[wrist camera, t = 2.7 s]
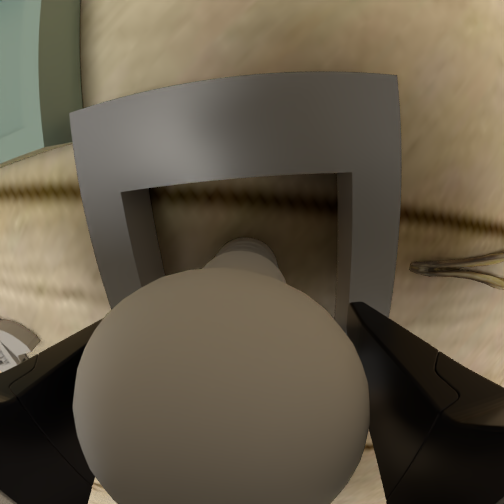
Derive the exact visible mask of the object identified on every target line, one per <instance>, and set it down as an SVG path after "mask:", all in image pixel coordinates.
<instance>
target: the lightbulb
mask: <svg viewBox="0 0 504 504" xmlns="http://www.w3.org/2000/svg"><path fill="white" fill-rule="evenodd" d="M73 414H74V420H75V426H76V432H77V436H78V439H79V443H80V446H81V448H82V451H83V454H84V456H85V459H86V461H87V463H88V466H89V468H90V470H91V471H92V473H93V474H94V476H95V477H96V478H97V480H98V481H99V482H100V484H101V485H102V486H103V488H104V489H105V490H106V491H107V493H108V494H109V495H110V496H111V497H112V499H113V500H114V501H116V502H117V503H118V504H330V503H331V502H332V501H333V500H334V499H335V498H336V497H337V495H338V494H339V493H340V492H341V491H342V490H343V488H344V487H345V486H346V485H347V483H348V482H349V480H350V478H351V477H352V475H353V473H354V471H355V469H356V468H357V466H358V464H359V462H360V460H361V457H362V454H363V451H364V447H365V443H366V439H367V434H368V429H369V425H370V400H369V389H368V381H367V378H366V375H365V372H364V368H363V365H362V362H361V360H360V358H359V356H358V354H357V351H356V349H355V347H354V345H353V343H352V342H351V340H350V339H349V338H348V336H347V335H346V334H345V332H344V331H343V330H342V328H341V327H340V326H339V325H338V323H337V322H336V321H335V320H334V319H333V317H332V316H331V315H330V314H329V313H328V311H327V310H326V309H325V308H324V307H322V306H321V305H320V304H318V303H317V302H316V301H314V300H313V299H312V298H310V297H309V296H308V295H307V294H305V293H304V292H302V291H300V290H298V289H295V288H293V287H291V286H289V285H287V284H286V281H285V278H284V276H283V275H282V273H281V271H280V270H279V267H278V264H277V260H276V257H275V255H274V253H273V251H272V250H271V249H270V248H269V247H268V246H267V245H266V244H265V243H263V242H261V241H259V240H257V239H253V238H247V237H244V238H237V239H233V240H231V241H229V242H227V243H226V244H225V245H224V246H223V247H222V248H221V249H220V250H219V252H218V253H217V254H216V256H215V258H213V259H212V260H210V261H209V262H208V263H207V264H206V265H205V266H204V267H203V269H195V270H186V271H183V272H179V273H175V274H171V275H168V276H164V277H161V278H159V279H157V280H155V281H153V282H151V283H149V284H147V285H146V286H144V287H142V288H140V289H138V290H137V291H135V292H134V293H132V294H131V295H129V296H128V297H126V298H124V299H123V300H122V301H121V302H120V303H119V304H117V305H116V306H115V307H114V308H113V309H112V310H111V311H110V312H109V313H108V314H107V315H106V316H105V317H104V319H103V320H102V321H101V322H100V324H99V325H98V326H97V328H96V329H95V330H94V332H93V334H92V336H91V338H90V339H89V341H88V343H87V345H86V347H85V349H84V352H83V354H82V357H81V360H80V362H79V365H78V368H77V374H76V382H75V389H74V398H73Z"/></svg>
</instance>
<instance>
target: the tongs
mask: <svg viewBox="0 0 504 504" xmlns="http://www.w3.org/2000/svg"><path fill="white" fill-rule="evenodd" d="M503 261H504V253H498V254H489V255H486V256H481V257H475V258H468V259H461V260H449V261H438V262H414V263H411V264H410V266H411V267H410V268H409V270H410V271H412V272H414V273H417V274H421V275H425V276H442V277H458V278H466V279H471V280H475V281H478V282H481V283H485V284H487V285H489V286H491V287H493V288H497V289H502V290H504V279H502V278H497V277H494V276H490V275H485V274H482V273H476V272H473V271H469V270H466V271H464V270H463V269H462V270H459V269H460V268H463V267H473V266H486V265H491V264H497V263H500V262H503Z"/></svg>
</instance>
